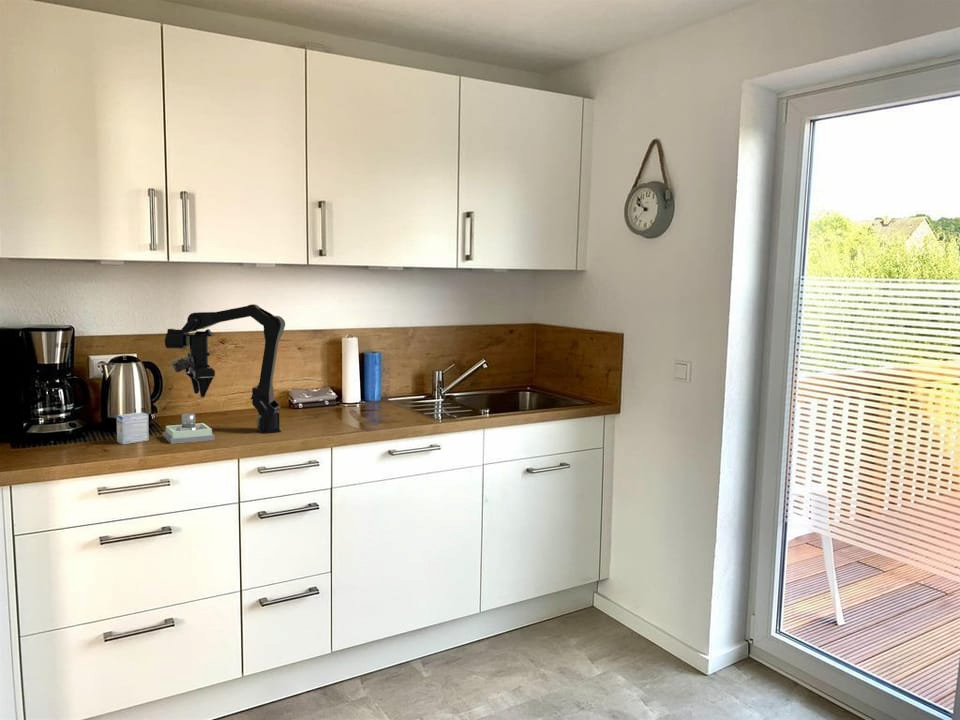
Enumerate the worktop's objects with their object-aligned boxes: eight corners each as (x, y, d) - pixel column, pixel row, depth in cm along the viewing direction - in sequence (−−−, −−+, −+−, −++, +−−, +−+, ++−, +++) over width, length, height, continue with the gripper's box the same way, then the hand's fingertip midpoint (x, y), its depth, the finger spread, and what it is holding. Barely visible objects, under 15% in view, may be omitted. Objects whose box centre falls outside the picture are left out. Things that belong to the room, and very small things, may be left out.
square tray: (205, 432, 236) (205, 422, 235) (214, 439, 225) (214, 429, 225) (163, 436, 228) (163, 425, 228) (171, 443, 218) (170, 432, 217)
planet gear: (198, 430, 232) (197, 412, 231) (203, 433, 226) (203, 415, 225) (174, 431, 227) (174, 413, 227) (178, 435, 221) (178, 417, 221)
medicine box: (142, 439, 224) (141, 412, 223) (149, 441, 221) (148, 413, 220) (116, 442, 218) (116, 415, 217) (123, 444, 215) (122, 416, 214)
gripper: (167, 347, 241) (168, 393, 242) (178, 352, 225) (179, 400, 227) (202, 347, 247) (202, 391, 248) (215, 351, 231) (215, 398, 233)
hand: (199, 395), depth 239 cm, fingers open, 9 cm apart
